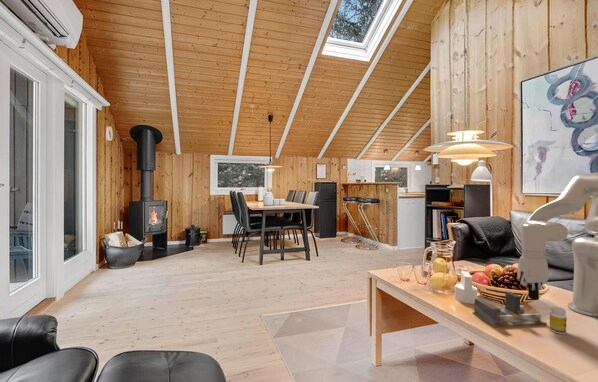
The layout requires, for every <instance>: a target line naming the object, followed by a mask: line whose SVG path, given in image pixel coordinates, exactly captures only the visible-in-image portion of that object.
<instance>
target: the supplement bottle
mask: <svg viewBox="0 0 598 382" xmlns="http://www.w3.org/2000/svg"><path fill="white" fill-rule="evenodd" d="M550 309H551V310H550V312H549V325H548V327H549V330H550V331H551V332H552V333H556V334H560V335H565V334H566V333H567V320H568V319H567V315H566V309H564V308H562V307H559V306H551V308H550Z"/></svg>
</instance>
